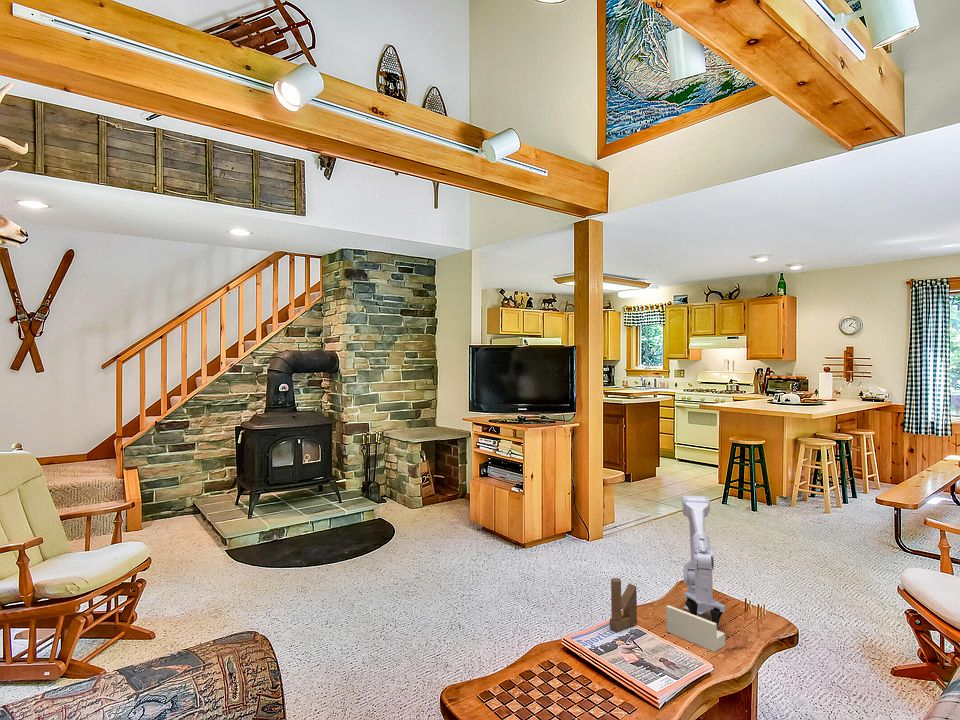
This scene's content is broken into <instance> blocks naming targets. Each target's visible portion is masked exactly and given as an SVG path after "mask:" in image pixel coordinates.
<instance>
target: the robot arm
mask: <svg viewBox="0 0 960 720" xmlns="http://www.w3.org/2000/svg"><path fill="white" fill-rule="evenodd" d="M710 502H711V501H710V498H709V497H708V496H706V495H705V496H702V495H685V494H683V495H682V496H681V507H682V510H681V511H682V515H683V516H685V517H686V518H687V519H688V523H689V525H688V527H689V542H690V543H689V544H690V545H689V546H690V559H689V560H688V561H687V562H685V563H683V564H684V565H683V582H684V584H685V585H686V586H687V591H686V592H683V593H684V594H683V598H684V600H686V601H685V602H684V604H685V605H684V606H683V607H682V608H683V609H684V610H686V611H688V612H689V613H690V614H693V615H696V616H698V615H701V614H703V613H704V612H706V611H708V610H710V609H711V608H712V609H713V610H711V611H710V613H711V617H712V622H714V623H717V627H718V623H719V622H720V620H721V618H722V616H723V613H725V612H726V605H725V604H723V603H721V602H719V601H717V600H715V599H714V597H713V596H714V595H713V593H714V592H713V583H714V582H713V571H714V569H715V559H714V558H715V557H714V556H713V555H714V554H713V552H712V550H711V545H710V538H709V536H708V535H707V534H706V525H705V522H706V521H705V518H707V517H708V516H709V513H710V510H711V503H710Z"/></svg>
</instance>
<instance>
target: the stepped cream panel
mask: <svg viewBox="0 0 960 720" xmlns="http://www.w3.org/2000/svg"><path fill="white" fill-rule="evenodd" d="M698 616H699V615H697V616H696V615H693V614H690V612H689V611H685V610H683V609H680V608H677V607H674V606H671V605H669V604H668V605H666V606H665V618H666V619H665V620H666V621H665V622H666V625H665V626H666V628H665V629H666V632H667V633H669V634H672V635H674V636H677V637H679V638H681V639H683V640H686V641H688V642H691V643H693V644H695V645H697V646H700V647H702V648H705V649H707V650H709V651H711V652H713V653H715V652H717V651H719V650H721V648H723V647H725V646H726V633H725V632H723V631H721V630H718V629H717V623H714V622H711V621H709V620H706V619H703V618H701V617H698Z"/></svg>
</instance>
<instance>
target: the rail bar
mask: <svg viewBox="0 0 960 720" xmlns="http://www.w3.org/2000/svg"><path fill="white" fill-rule="evenodd" d="M711 610H713V609H712V608H711V609H710V610H708V611H706V612H704V613H703V614H701V615H700V614H698V615H697V616H698V617H701V618H703V619H706V620H709V621H711V622H712V617H711V613H710V611H711ZM720 622H721V621H719V623H718V627H717V630H718V629H719V628H720Z"/></svg>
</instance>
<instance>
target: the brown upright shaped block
mask: <svg viewBox="0 0 960 720" xmlns="http://www.w3.org/2000/svg"><path fill="white" fill-rule="evenodd" d="M610 593H611V594H610V597H611V598H610V599H611V604H610V606H611V607H610V608H611V609H610V610H611V614H610V615H611V618H609V629H610V628H611V629H610V630H612V631H614V632H615V631H616V632H615V633H618V631H619V632H621V631H624V630H626V629H628V628H630V627H631V628H632V627H634V626H637V625H638V615H637V613H638V611H637V605H638V602H637V601H638V600H637V598H638V597H637V596H638V595H637V593H638V592H637V586H636V585H635V584H632V583H629V582H628V584H627V586H626V587H625V590H624V592H623V593H622V579H621V578H618V577H613V578H611V579H610ZM622 611H623V614H622ZM623 629H624V630H623Z"/></svg>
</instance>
